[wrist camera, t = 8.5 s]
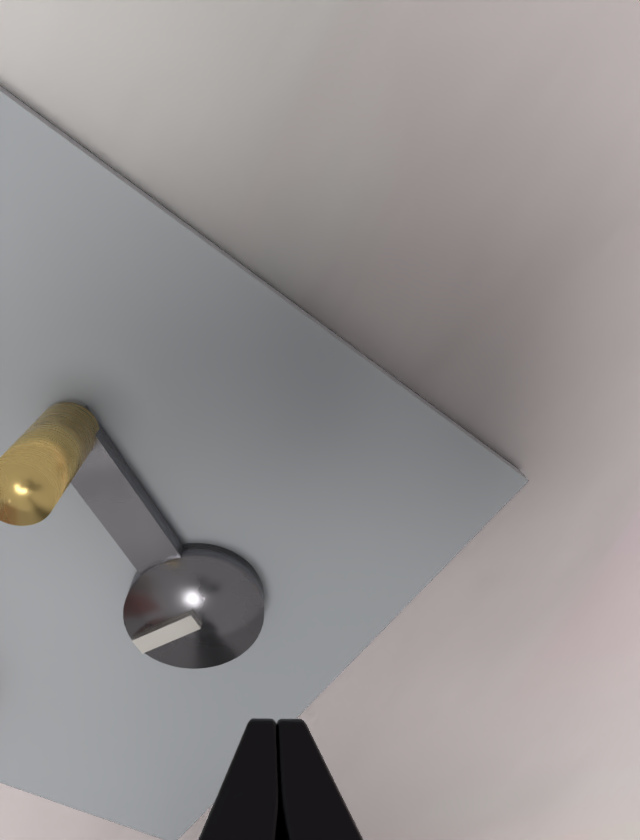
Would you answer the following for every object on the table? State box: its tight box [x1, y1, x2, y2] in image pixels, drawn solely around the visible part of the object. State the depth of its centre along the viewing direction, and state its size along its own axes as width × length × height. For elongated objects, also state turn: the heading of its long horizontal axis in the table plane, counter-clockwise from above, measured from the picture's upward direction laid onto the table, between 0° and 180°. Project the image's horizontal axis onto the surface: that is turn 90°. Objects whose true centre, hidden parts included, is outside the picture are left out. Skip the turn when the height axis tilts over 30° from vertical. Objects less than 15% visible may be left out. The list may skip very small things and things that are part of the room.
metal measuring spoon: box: [0, 402, 264, 669], centre depth 18 cm, size 5×11×4 cm, turn 25°
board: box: [0, 86, 529, 840], centre depth 20 cm, size 26×24×1 cm
